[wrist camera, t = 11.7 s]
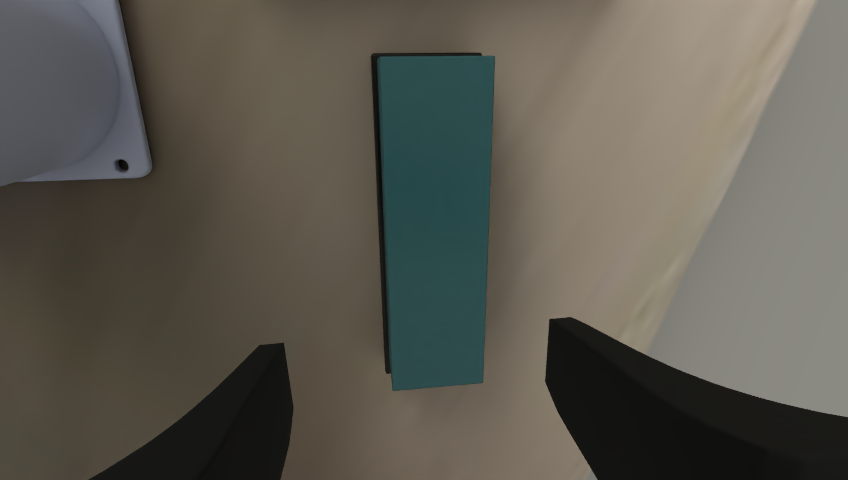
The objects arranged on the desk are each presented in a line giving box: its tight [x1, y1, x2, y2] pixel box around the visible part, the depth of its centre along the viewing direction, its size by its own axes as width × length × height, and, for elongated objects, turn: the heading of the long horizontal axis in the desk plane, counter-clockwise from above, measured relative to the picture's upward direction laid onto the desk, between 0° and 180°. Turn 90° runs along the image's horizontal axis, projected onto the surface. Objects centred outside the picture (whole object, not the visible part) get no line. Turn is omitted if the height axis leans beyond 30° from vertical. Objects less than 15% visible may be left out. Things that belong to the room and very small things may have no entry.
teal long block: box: [371, 53, 495, 391], centre depth 19 cm, size 14×4×4 cm, turn 1°
